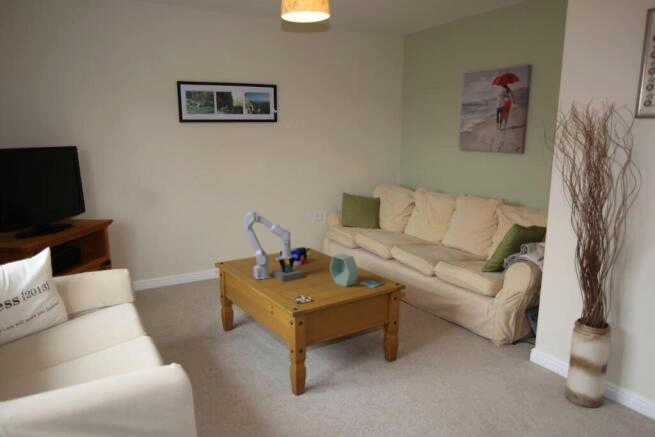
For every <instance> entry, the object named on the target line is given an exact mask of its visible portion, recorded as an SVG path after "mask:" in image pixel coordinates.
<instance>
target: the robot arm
mask: <svg viewBox="0 0 655 437" xmlns="http://www.w3.org/2000/svg"><path fill="white" fill-rule="evenodd" d="M254 223H259V224H262V225H264V226H265V227H267V228H268V229H270V232H271V233H273V234H274V235H275V236H277V237H279V238H280V239H281V256H278V257H275V261H276V262H278V263H279V264H280V267H281V269H282V271H285V265H286V261H285V260H287V259H289V265H291V270H292V267H293V266H294V265H293V264H294V262H295V259H294V258H297V255H296V254H294V255H291V249H292V246H291V244H292V243H291V236H292V234H291V232H290V231H289V230H287V229H284V228H283V227H281V225H280V224H276V223H275V224H273V223H272V222H271V221H270V220H268V219H267V218H265V217H264V216H263V215H261V214H260V213H257V211H254V210H251V211H249V212H248V213H247V214H246V215H245V216H244V218H243V230H244V232H245V234H246V236H247V239H248V240H249V242H250V244H251V247H252V248H253V251H254V254H255V258H256V265H254V266H253V278H254V277H255V278H254V279H256V280H257V279H262V280H265V278H267V279H271V278H272V276H271V275H270V270H269V267H270V266H269V261H268V260H269V255H268V253H267V252H265V250H264V249H263V247H262V245H261V243H260V241H259V239H258V237H257V235H256V232H255V231H254V229H253V226H254ZM293 268H294V267H293Z"/></svg>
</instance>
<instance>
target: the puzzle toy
mask: <svg viewBox="0 0 655 437" xmlns="http://www.w3.org/2000/svg"><path fill="white" fill-rule="evenodd" d="M307 251H308V250H307V249H305V248H300V247H294V248H291V255H294V254H296V255H297V258H294V259H295V262H294V264H293V266H295V265H297V267H300V266H302V265H304V263H305V264H308V252H307ZM286 260H287V261H286V262H287V264H286V265H288V264H289V259H286ZM299 265H300V266H299Z"/></svg>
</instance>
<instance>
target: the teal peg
mask: <svg viewBox="0 0 655 437" xmlns="http://www.w3.org/2000/svg"><path fill="white" fill-rule="evenodd" d="M290 272H291V265H289V264H285V271H284V273H290Z"/></svg>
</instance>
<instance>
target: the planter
mask: <svg viewBox="0 0 655 437" xmlns="http://www.w3.org/2000/svg"><path fill="white" fill-rule="evenodd" d="M329 270H330V273H331V276H332V279H333V282H334V283H335V284H337V285H340V286H342V287H345V288H347V287H350V286H353V285H355V284H356V281H357V280H358V276H359V273H360V270H359V267H358V265H357V263H356V260H355V258H354V256H352V255H349V254H345V253H339V254H334V255H332V258H331V263H330V266H329Z"/></svg>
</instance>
